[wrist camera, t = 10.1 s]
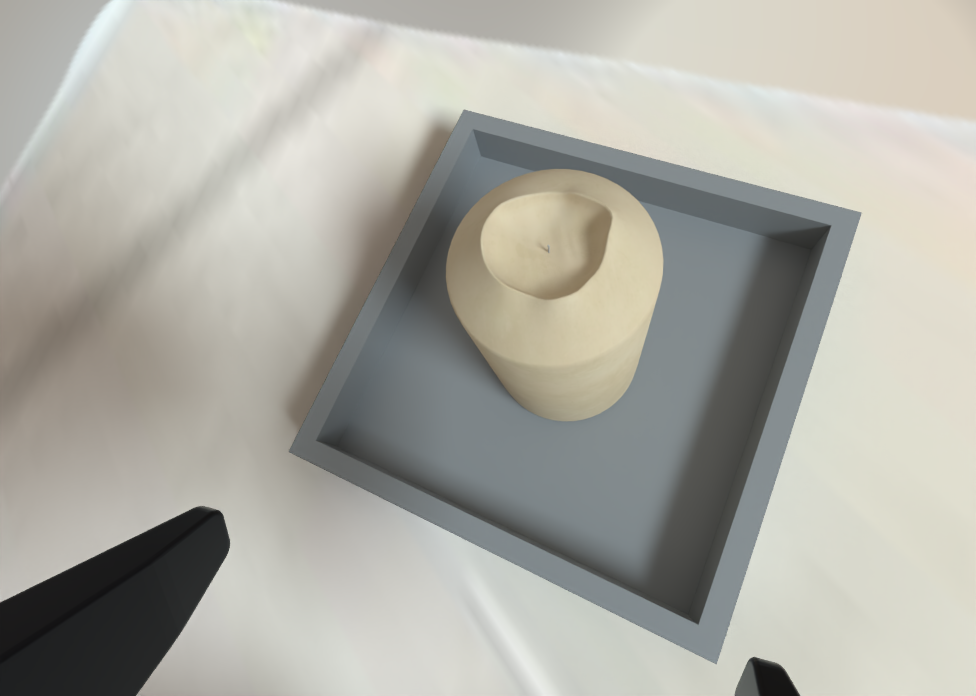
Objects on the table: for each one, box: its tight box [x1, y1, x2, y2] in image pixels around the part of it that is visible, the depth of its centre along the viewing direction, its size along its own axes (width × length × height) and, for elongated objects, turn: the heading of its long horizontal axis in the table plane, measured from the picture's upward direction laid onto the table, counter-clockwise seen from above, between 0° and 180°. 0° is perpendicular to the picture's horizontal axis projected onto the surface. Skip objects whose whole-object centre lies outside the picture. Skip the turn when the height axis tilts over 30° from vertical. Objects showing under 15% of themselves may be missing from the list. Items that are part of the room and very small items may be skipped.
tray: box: [289, 110, 861, 664], centre depth 22 cm, size 16×16×2 cm
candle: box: [446, 169, 663, 421], centre depth 17 cm, size 6×6×10 cm
